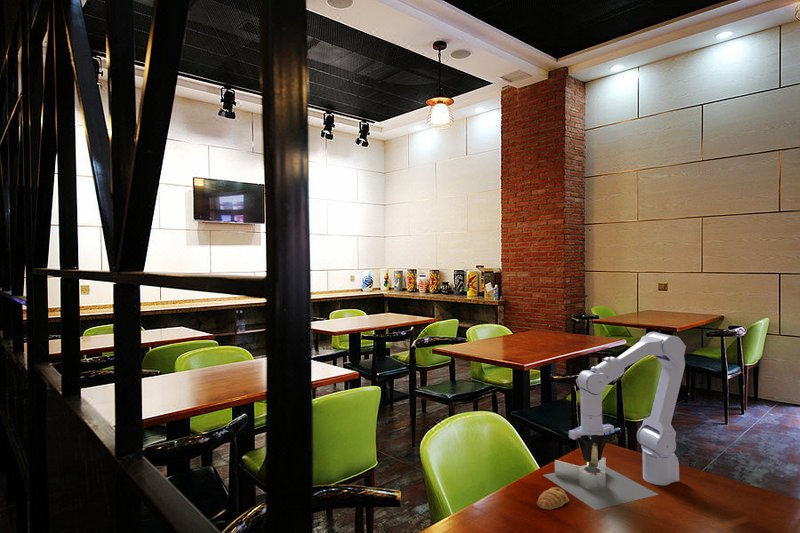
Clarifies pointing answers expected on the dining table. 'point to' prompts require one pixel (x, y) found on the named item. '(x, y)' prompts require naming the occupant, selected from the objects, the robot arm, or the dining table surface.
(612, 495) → the mat
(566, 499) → the pastry
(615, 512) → the dining table surface
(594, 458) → the pin
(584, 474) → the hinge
